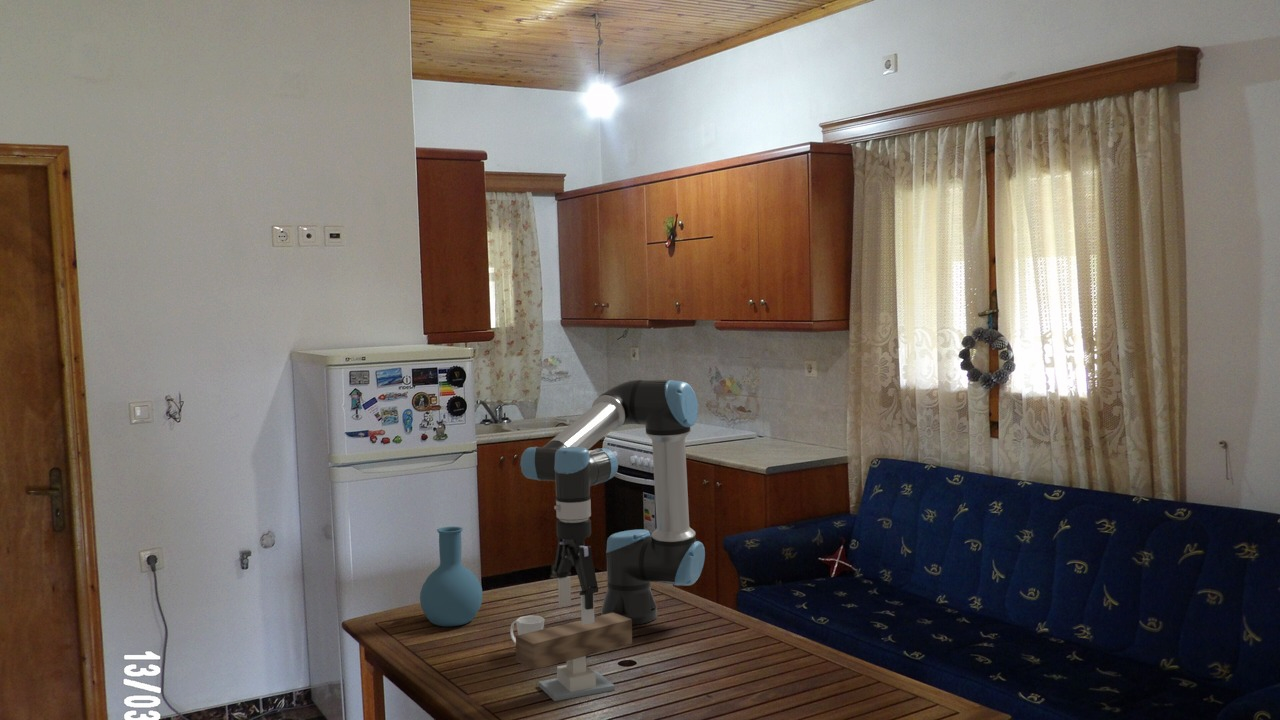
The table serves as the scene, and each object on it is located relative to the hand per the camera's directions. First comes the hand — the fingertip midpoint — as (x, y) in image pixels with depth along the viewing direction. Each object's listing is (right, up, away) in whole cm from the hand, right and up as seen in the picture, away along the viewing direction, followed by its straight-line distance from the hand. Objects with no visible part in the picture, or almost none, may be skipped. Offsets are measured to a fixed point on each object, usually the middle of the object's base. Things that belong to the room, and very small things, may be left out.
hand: (576, 614), depth 222 cm
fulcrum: (0, -16, 0) cm, 16 cm away
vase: (-37, -15, +50) cm, 64 cm away
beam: (0, -8, 0) cm, 8 cm away
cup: (-14, -16, +25) cm, 33 cm away
